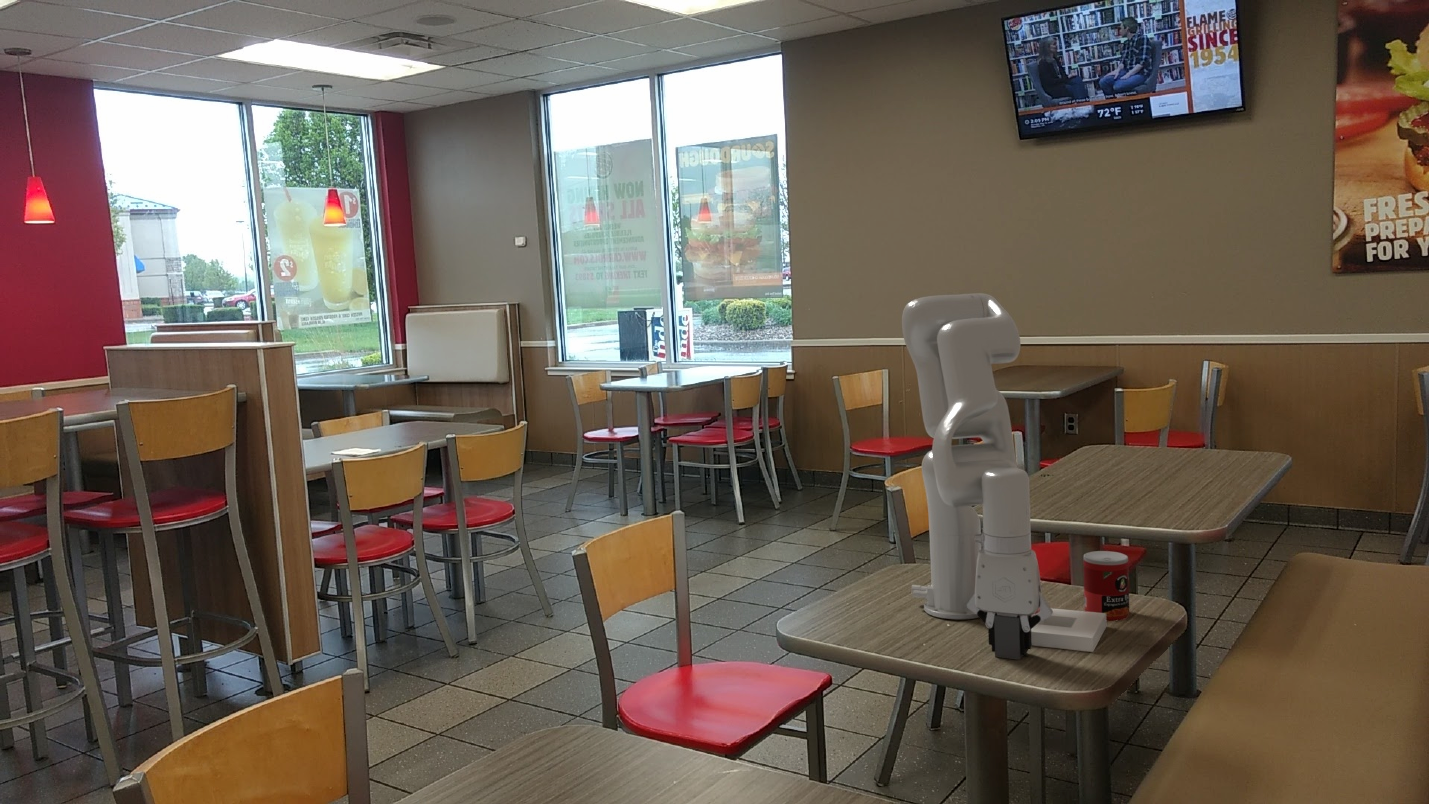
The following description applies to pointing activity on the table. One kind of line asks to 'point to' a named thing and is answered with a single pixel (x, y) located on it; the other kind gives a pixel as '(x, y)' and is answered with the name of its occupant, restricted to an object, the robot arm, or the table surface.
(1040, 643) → the socket plate
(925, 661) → the table surface
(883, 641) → the table surface
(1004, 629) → the plug
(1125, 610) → the canned food
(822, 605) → the table surface
